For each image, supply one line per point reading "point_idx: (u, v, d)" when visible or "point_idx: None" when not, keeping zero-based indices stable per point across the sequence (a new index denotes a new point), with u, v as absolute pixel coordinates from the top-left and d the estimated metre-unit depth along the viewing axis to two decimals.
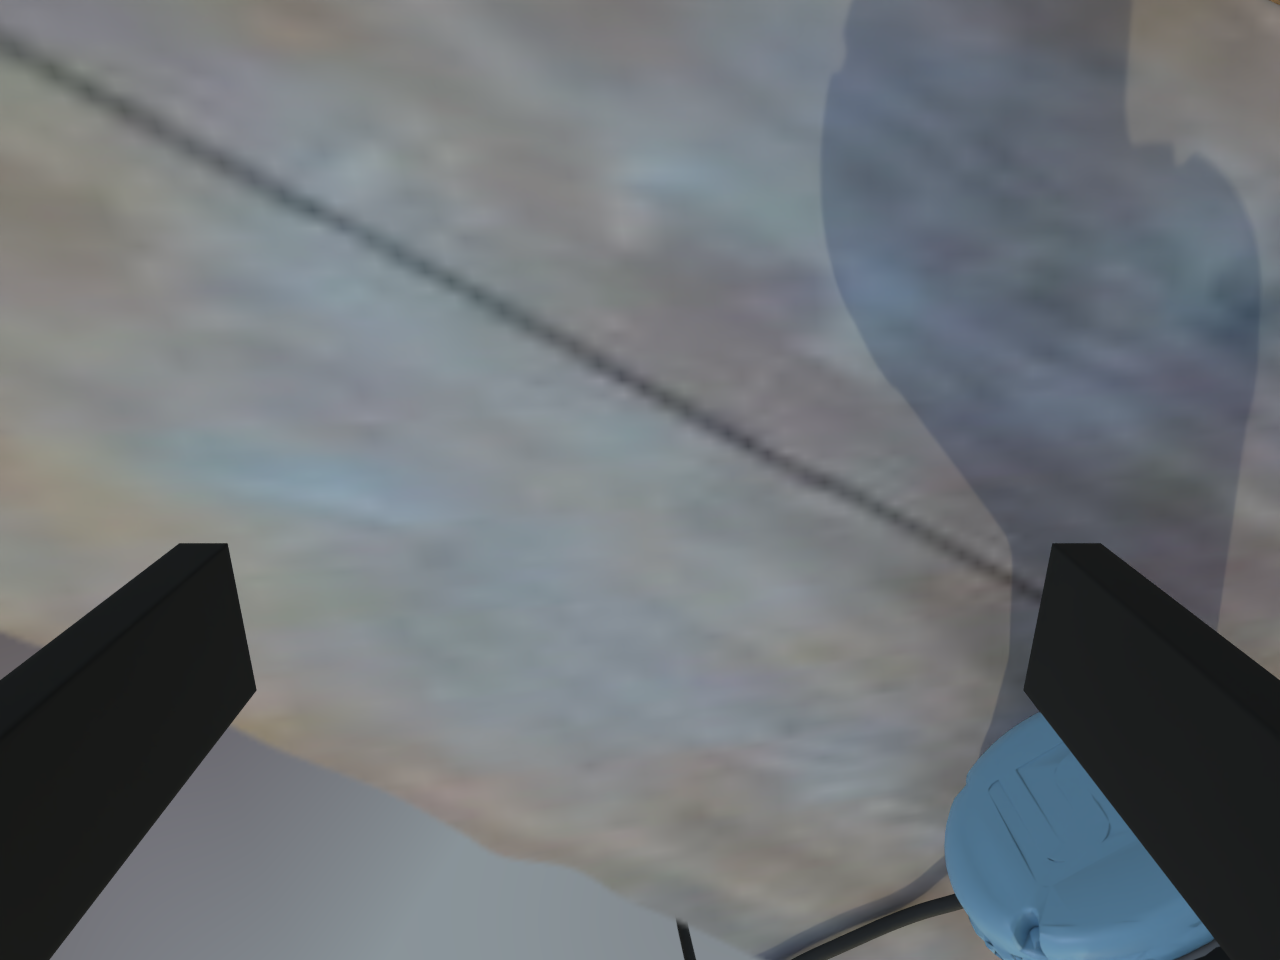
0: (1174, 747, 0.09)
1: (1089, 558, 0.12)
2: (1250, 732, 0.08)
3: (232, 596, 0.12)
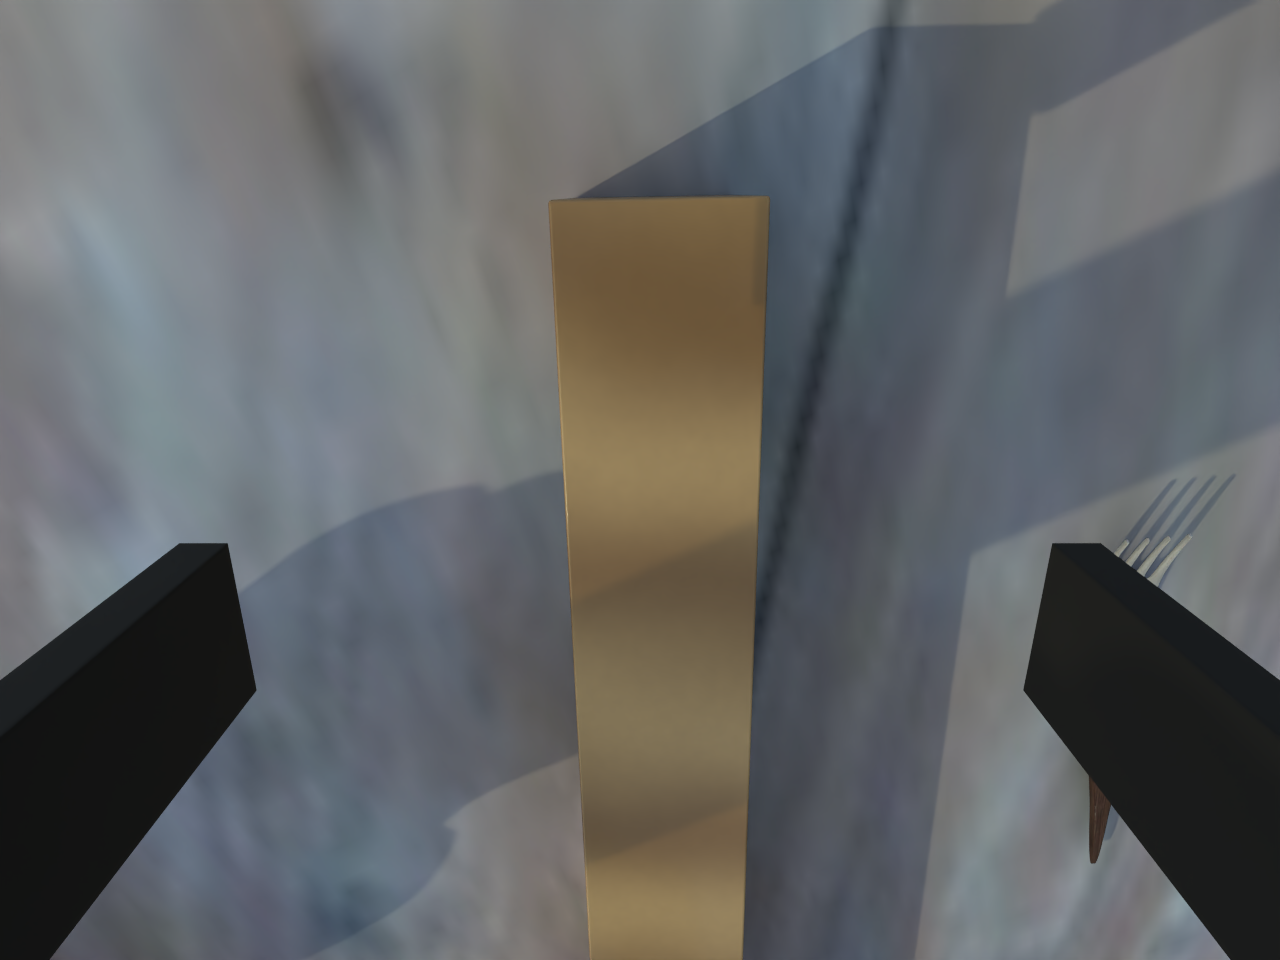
0: (1174, 747, 0.09)
1: (1089, 558, 0.12)
2: (1250, 732, 0.08)
3: (232, 596, 0.12)
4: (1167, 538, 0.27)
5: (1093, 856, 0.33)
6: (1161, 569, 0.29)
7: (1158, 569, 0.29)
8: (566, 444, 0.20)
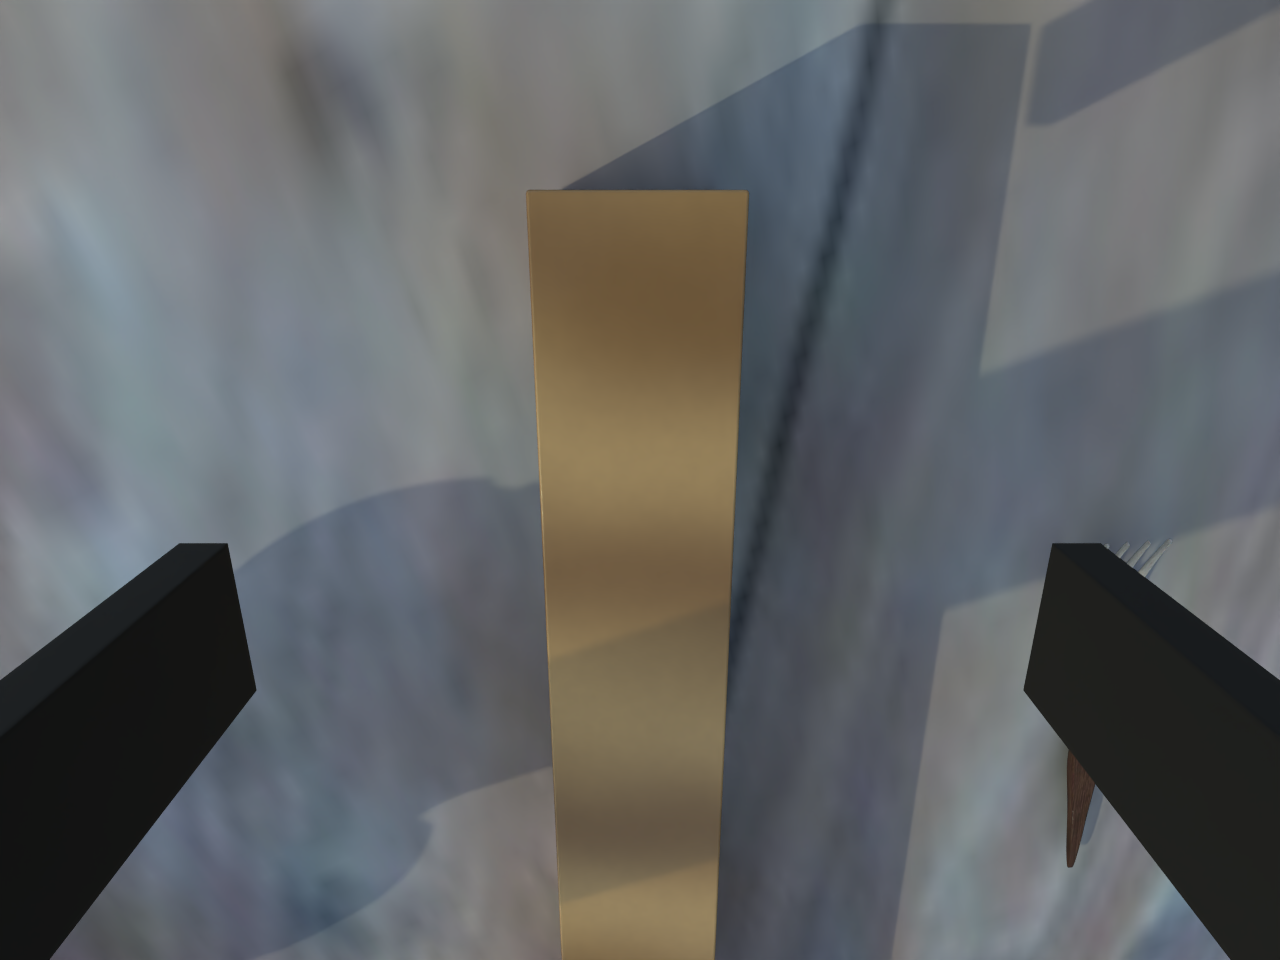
0: (1174, 747, 0.09)
1: (1089, 558, 0.12)
2: (1250, 732, 0.08)
3: (232, 596, 0.12)
4: (1147, 543, 0.27)
5: (1070, 860, 0.33)
6: (1141, 574, 0.29)
7: None
8: (541, 436, 0.20)
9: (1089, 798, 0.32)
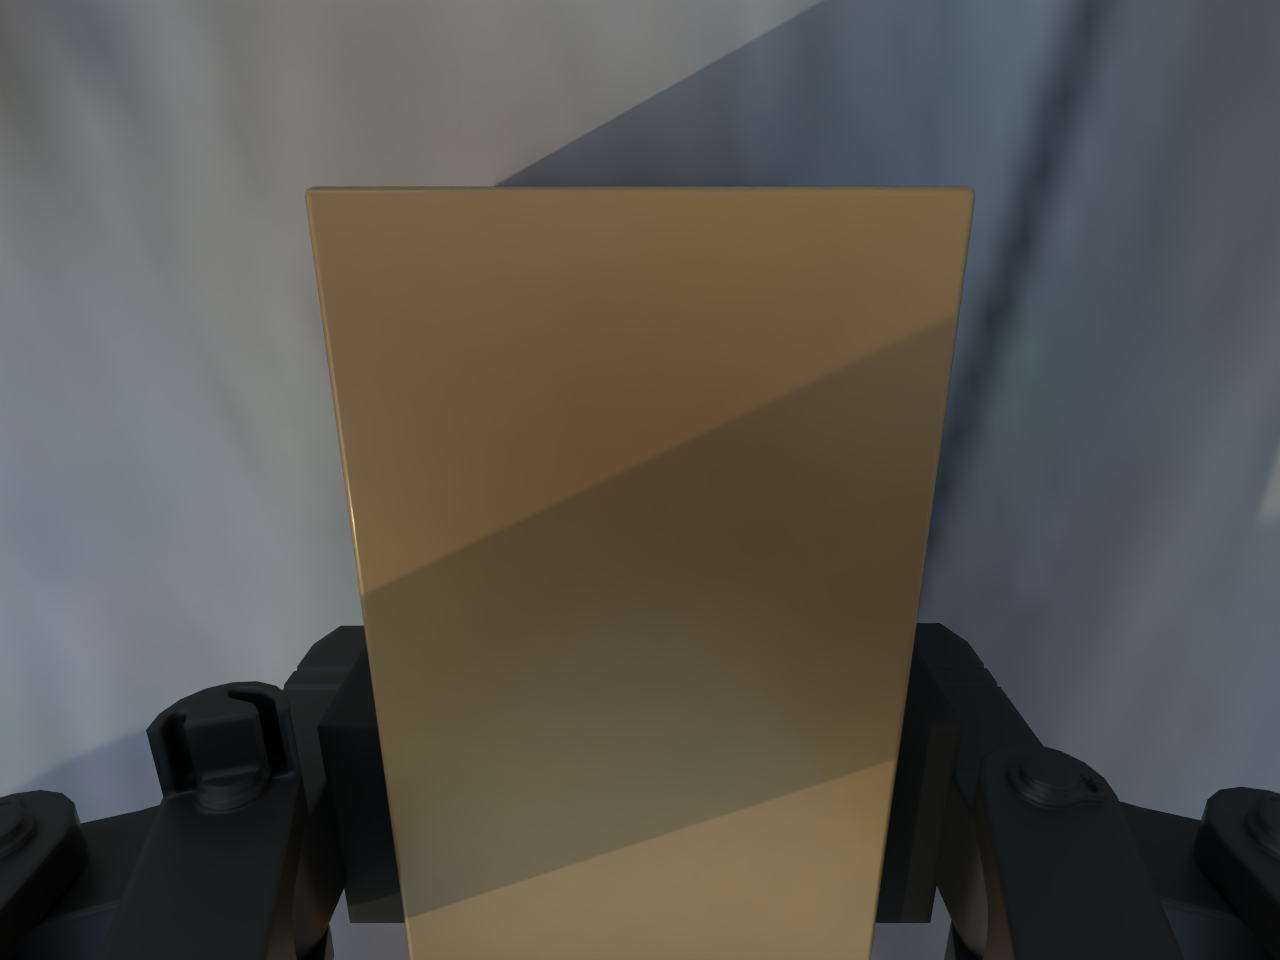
0: None
1: None
2: None
3: None
4: None
5: None
6: None
7: None
8: (397, 809, 0.08)
9: None
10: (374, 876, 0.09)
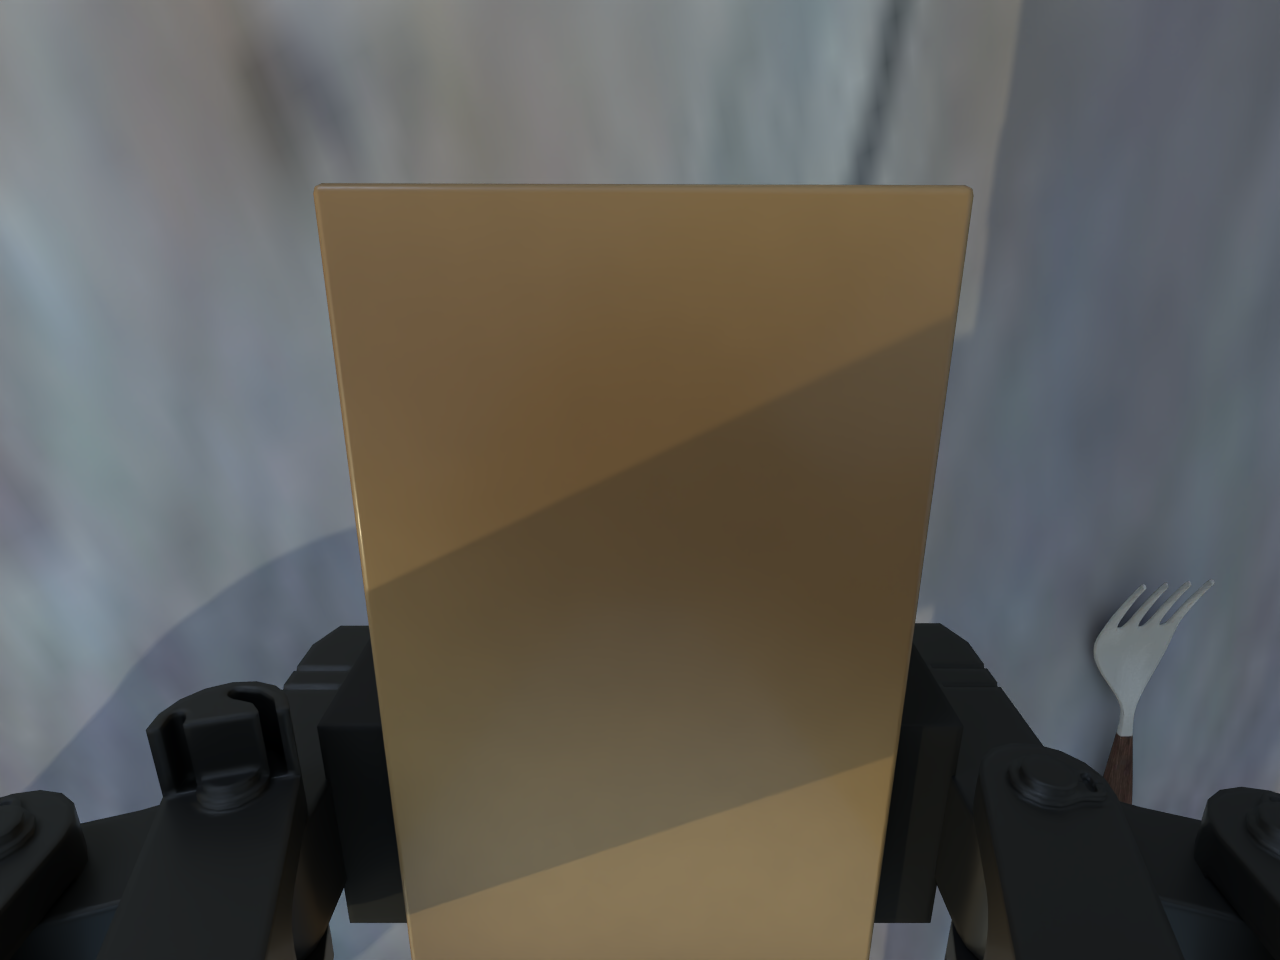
0: None
1: None
2: None
3: None
4: (1187, 584, 0.25)
5: None
6: (1178, 615, 0.26)
7: (1175, 615, 0.26)
8: (400, 803, 0.08)
9: None
10: (374, 876, 0.09)
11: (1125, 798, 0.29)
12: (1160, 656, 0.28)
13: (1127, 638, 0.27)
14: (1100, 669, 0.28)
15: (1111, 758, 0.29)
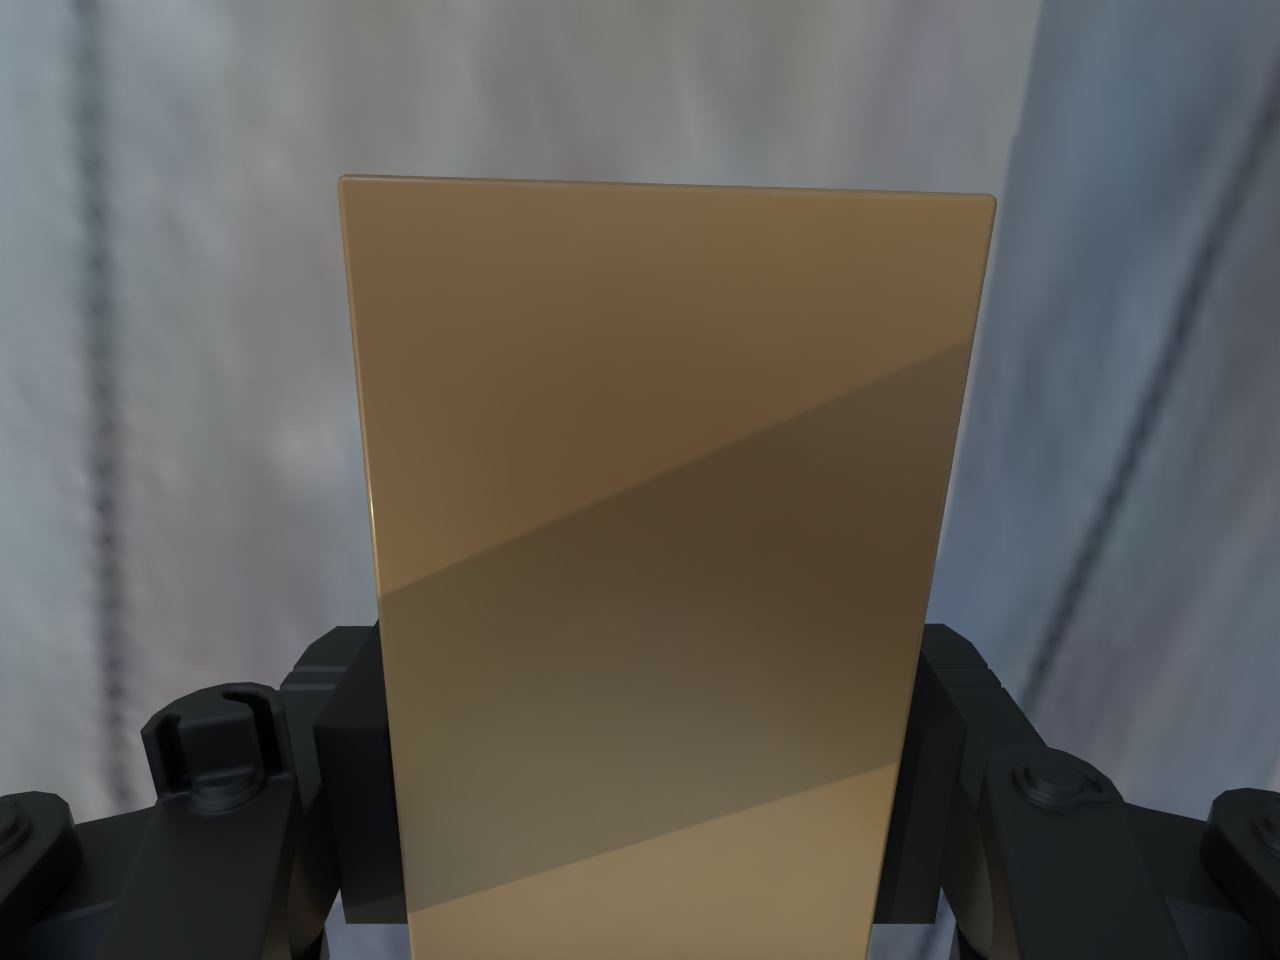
0: None
1: None
2: None
3: None
4: None
5: None
6: None
7: None
8: (406, 796, 0.08)
9: None
10: (369, 877, 0.09)
11: None
12: None
13: None
14: None
15: None
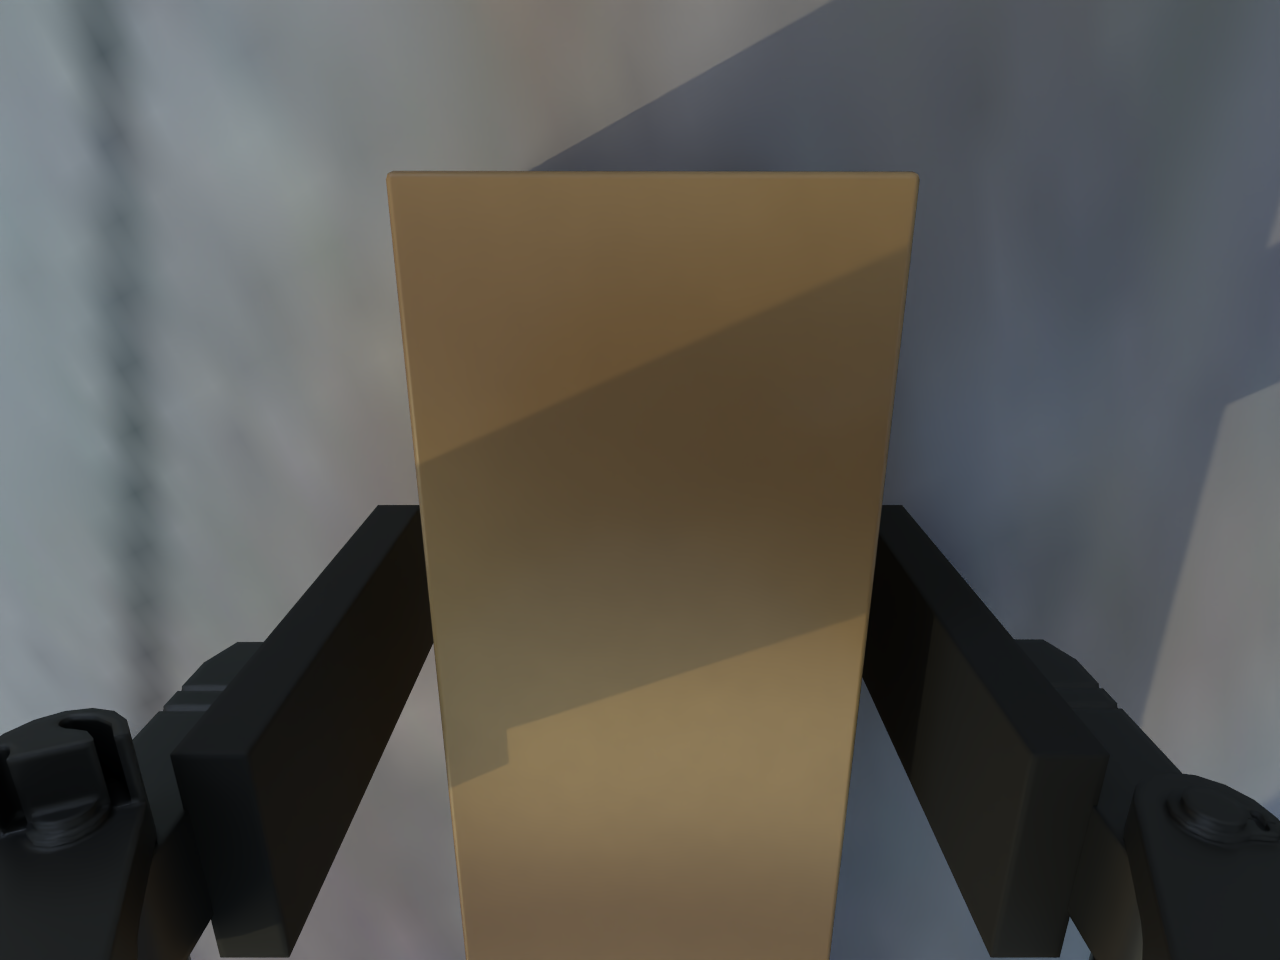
0: (914, 671, 0.11)
1: (884, 516, 0.13)
2: (948, 649, 0.10)
3: (423, 553, 0.14)
4: None
5: None
6: None
7: None
8: (447, 695, 0.10)
9: None
10: (241, 910, 0.08)
11: None
12: None
13: None
14: None
15: None
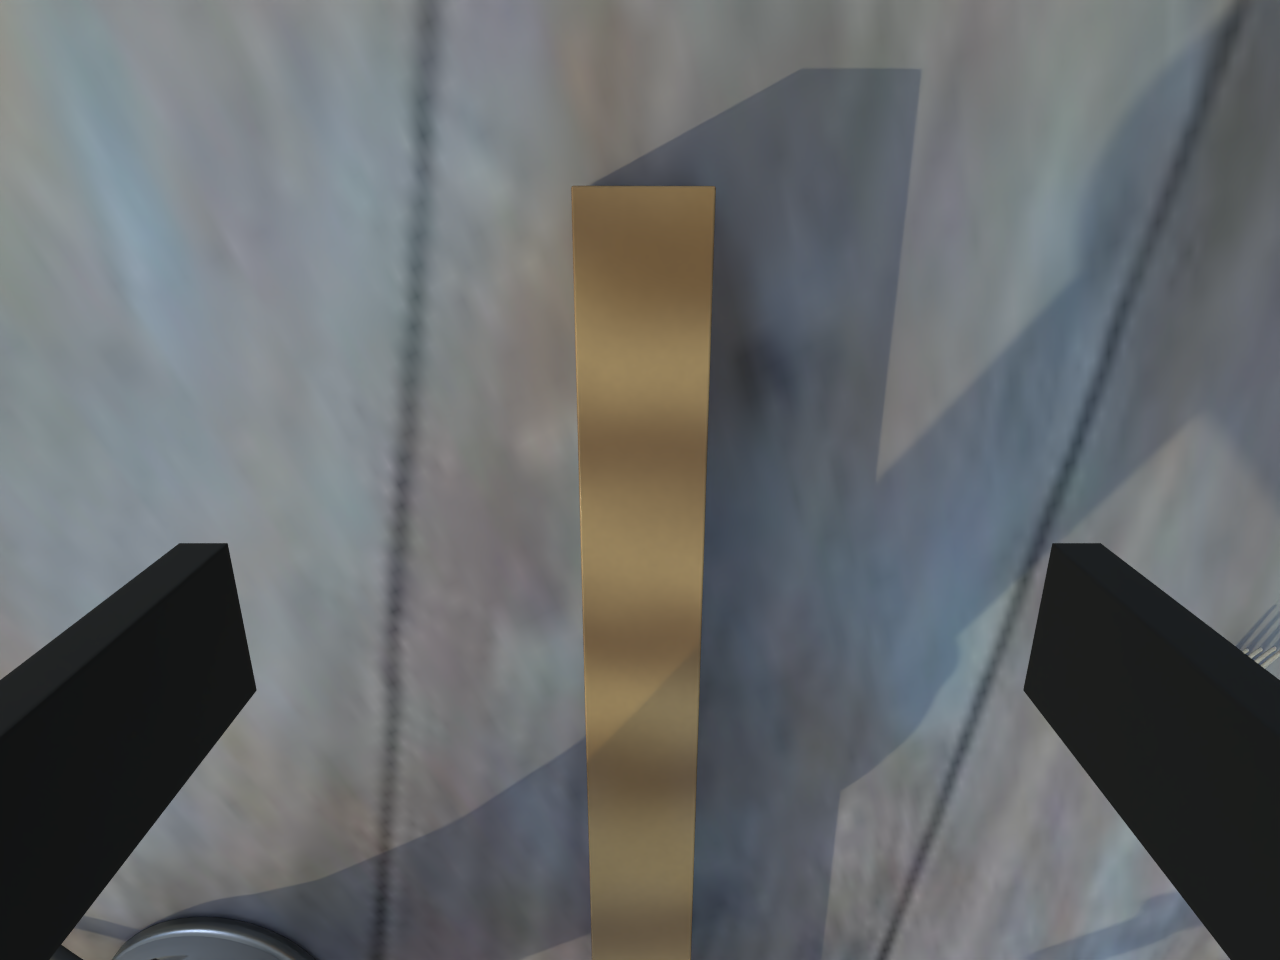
0: (1174, 747, 0.09)
1: (1089, 558, 0.12)
2: (1250, 732, 0.08)
3: (232, 596, 0.12)
4: (1274, 648, 0.41)
5: None
6: (1265, 665, 0.42)
7: (1263, 665, 0.42)
8: (578, 351, 0.30)
9: None
10: None
11: None
12: None
13: None
14: None
15: None
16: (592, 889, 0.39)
